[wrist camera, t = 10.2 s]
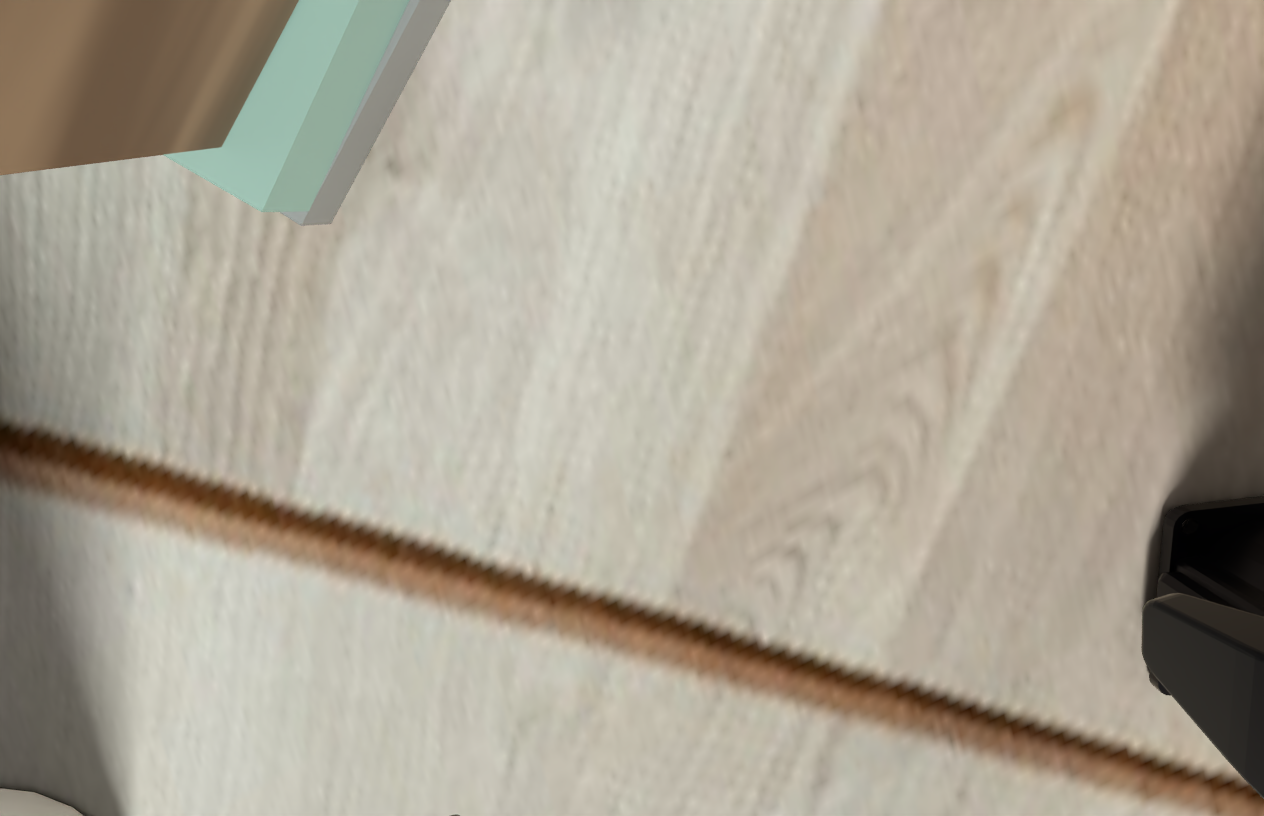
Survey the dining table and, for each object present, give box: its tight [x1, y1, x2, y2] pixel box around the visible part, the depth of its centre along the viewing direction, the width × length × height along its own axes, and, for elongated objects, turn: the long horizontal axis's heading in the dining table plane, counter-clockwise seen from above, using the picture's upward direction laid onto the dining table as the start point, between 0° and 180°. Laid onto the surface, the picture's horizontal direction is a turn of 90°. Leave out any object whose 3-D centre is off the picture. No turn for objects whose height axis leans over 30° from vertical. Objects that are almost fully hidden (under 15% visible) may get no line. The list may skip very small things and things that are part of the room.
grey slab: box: [280, 0, 450, 226], centre depth 18 cm, size 6×6×2 cm
